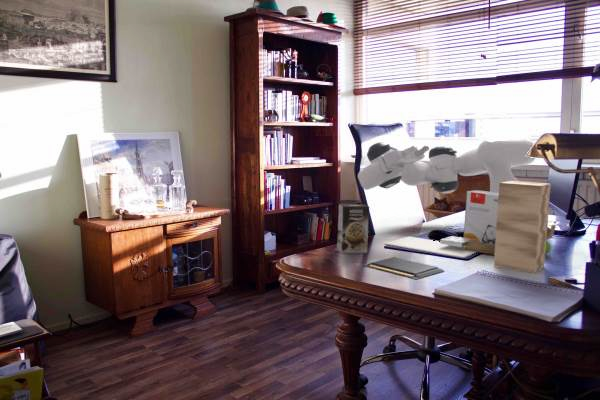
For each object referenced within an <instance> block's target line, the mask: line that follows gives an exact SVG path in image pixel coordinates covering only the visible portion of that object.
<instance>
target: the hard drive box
mask: <svg viewBox="0 0 600 400" xmlns="http://www.w3.org/2000/svg"><path fill="white" fill-rule="evenodd" d="M498 196H499V193H497V192H490V191H488V190H487V191H486V190H475V189H474V190H467V191H466V198H465V199H466V200H465V214H464V226H463V227H464V229H463V238H468V239H473V241H477V242H483V243H490V244H495V240H496V226H497V211H498Z"/></svg>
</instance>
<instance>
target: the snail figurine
mask: <svg viewBox="0 0 600 400" xmlns="http://www.w3.org/2000/svg"><path fill="white" fill-rule="evenodd" d="M553 223H554V224H552V225H550V228H549V227H548V226H547V237H546V250H545V256H546V255H548V254H549V253H550V252H551V251H552V245H551V243H550V242H549V240H550V239H551V238H552V237H553V235H554V233H555V229H556V223H557V221H553Z"/></svg>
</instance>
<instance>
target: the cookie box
mask: <svg viewBox="0 0 600 400" xmlns="http://www.w3.org/2000/svg"><path fill="white" fill-rule="evenodd" d="M369 214H370V206H368V205H366V204H363V203H360V204H357V203H353V204H352V203H349V204H348V203H346V204H345V203H339V204H338V219H337V220H338V221H337V222H338V223H337V241H336V244H337V246H336V250H337V251H338V252H339V253H340V254H343V255H345V254H367V253H368V242H369V241H368V240H369V239H368V238H369V237H368V235H369V218H370V217H369Z"/></svg>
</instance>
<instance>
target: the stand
mask: <svg viewBox="0 0 600 400" xmlns="http://www.w3.org/2000/svg"><path fill="white" fill-rule="evenodd" d="M551 186H552V184H551V183H544V182H533V181H531V182H530V181H507V182H501V183H499V196H498V211H497V226H496V240H495V255H493V257H494V258H493V267H498V268H504V269H510V270H515V271H520V272H526V273H532V274H535V273H537V272H539V271H540V270H542V269H543V268H545V261H546V255H545V250H546V237H547V227H548V222H549V211H550V198H551Z"/></svg>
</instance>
